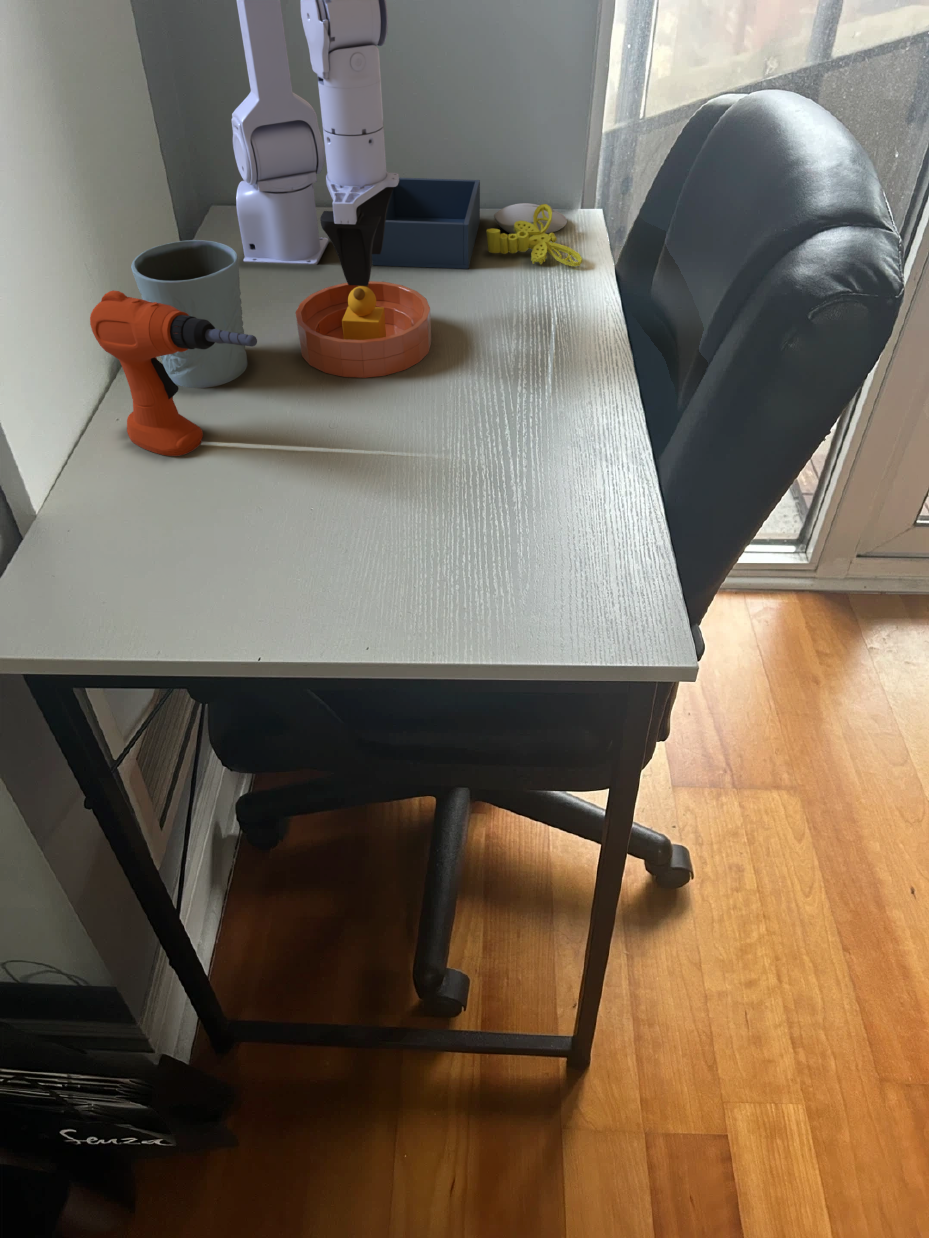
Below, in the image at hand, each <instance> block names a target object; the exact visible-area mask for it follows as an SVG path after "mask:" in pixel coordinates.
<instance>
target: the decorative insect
mask: <svg viewBox="0 0 929 1238" xmlns="http://www.w3.org/2000/svg"><path fill="white" fill-rule="evenodd" d="M539 205H540V206H538V207H537V208H536V210H535V212H534V215H533V224H531V223H529V222H527V221H516V222H515V224H514V231H516V234H513V233H512V234H511V233H509V234H507V233H505V232H502V233H501V230H500V229H498V228H493V227H491V228H487V229H486V243H487V252H489V253H491V254H499V253H500V254H503V255H506V254H508V253H510V254H517V253H518V252H521V253H525V252H527V251H528V250H529V249H530V250H531V253H530V256H531V257H530V261H531V262H532V264H534V265H535V263H539V264H540V265H542V264H544V263H545V262H546V259H547V255H548V254H549V255H550V256H551V257H553V258H554V259H555V260H556V262H559V263H561V264H563V265H565V266H569V267H579V266H581V265H582V263H583V257H582V256H581V254H580V253H579V252H578V251H576V250H574V249H573V248H572V247H570V246H567V245H564V244H560V243H557V241H558V238H557V236H556V234H555V232H551V233H545V232H546V230H547V229H548V228H549V226H550V223H551V221H552V210H551V208H552V207H551V205H548V204H547V203H541V204H539ZM550 207H551V208H550ZM544 210H545V211H547V212H548V216H549V218H547V217H546V216H545V214H544ZM541 211H542V216H543V218H537V216H538V214H539V213H540V212H541ZM539 220H540V221H542V220H543V221H544V220H545V221H548V222H547V224H546V226H545V227H544V226H543V224H542V222H540V221H539ZM537 222H538V224H540V225H541V230H539V228H538V226H537V224H536V223H537ZM547 253H548V254H547ZM562 253H565V254H567V256H566V258H563V255H562ZM575 260H576V261H575Z"/></svg>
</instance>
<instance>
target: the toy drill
mask: <svg viewBox="0 0 929 1238" xmlns="http://www.w3.org/2000/svg"><path fill="white" fill-rule="evenodd" d="M89 324H90V328H91V331H92V334H93V337H94V338H95V340H96V341H97V343H98V345H99V346H100V347H101V349H103V351H105V352H106V353H108V354H109V355H111V356H113V357H114V358H116V359H117V360H119V363H120V365H121V367H122V370H123V372H124V375H125V379H126V381H127V385H128V387H129V390H130V395H131V399H132V412H131V413H129V414H128V416H127V419H126V432H127V435H128V438H129V440H130V442H132V443H133V444H134V445H136V446H138V447H140V448H141V449H144V450H146V451H149V452H152V453H154V454H158V455H162V456H166V457H167V456H168V457H179V456H183V455H187V454H189V453H191V452H193V451H195V450H196V449H197V448H198V447H200V445H201V444H202V442H203V440H202V439H203V437H204V434H203V430H202V428H201V427H200V426H198V425H197V424H195V423H194V422H193V421H191V420H189V419H188V418H186V417H185V416H184V415H182V414H180V413H179V410H178V409H177V406H176V403H175V401H174V396H175V395H177V393H178V392H179V385H177V384H175V383H174V382H173V381H172V380H171V378H170V377H169V375H168V374H167V372H166V370H165V368H164V366H163V362H162V361H160V360H159V359H158V357H161V356H163V355H170V354H173V353H176V352H184V351H186V350H188V349H195V348H197V349H208V348H209V347H211V346H212V345H214V344H215V342H216V343H219V344H222V343H227V344H235V345H244V346H245V347H252V348H253V347H255V346H256V345H257V344H258V338H257V337H256V336H255V335H253V334H247V333H244V334H239V333H233V332H232V333H231V332H228V331H222V330H218V329H215V327H214V326H213V325H212V324H211V323H210V322H209V321H208V320H205V319H197V318H196V317H193V316H189V315H188V314H187V313H185V312H181V311H179V310H178V309H176V308H174V307H172V306H170V305H165V304H161V303H157V302H153V303H152V302H149V301H146V300H142V298H136V297H132V296H127V295H126V294H125V293H124V292H122V291H120V290H114V289H113V290H109V291H107V292H106V293H105V294H104V295H103V296H102V297H101V300H100V301H99V302H98V303H97V304H96V305H95V306H94V308H93V309H92V311H91V313H90V316H89Z"/></svg>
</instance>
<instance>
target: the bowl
mask: <svg viewBox="0 0 929 1238" xmlns="http://www.w3.org/2000/svg"><path fill="white" fill-rule="evenodd" d="M356 287H358V286H356V285H348V283H347V282H342V283H338V284H335V285H329V286H326V287H325V288H322V289H320V290H317V291H316V292H313V293H310V295H308V296H307V297H306V298H305V299H303V300H302V301H301V302H300V303H299V305H298V306H297V309H296V310H295V313H294V314H295V320H296V327H297V334H298V343H299V349H300V355H301V357H302V359H304V361H305V362H306V363H307V364H308V365H309V366H311V367H313V368H314V369H316V370H318V371H321V372H323V373H325V374H329V375H333V376H337V377H343V378H359V379H366V378H367V379H368V378H376V377H384V376H389V375H392V374H395V373H399V372H402V371H406V370H408V369H409V368H411V367H413V366H415V365H417V364H418V363H420V362H421V361H422V360H423V359H424V358H425V357H426V356H427V355H428V354H429V352H430V348H431V345H432V320H431V319H432V318H431V307H430V304H429V302H428V300H427V298H426V297H425V296H424V295H422V294H421V293H420V292H419V291H417V290H415V289H412V288H410V287H408V286H405V285H403V284H398V283H394V282H388V281H375V280H373V281H372V280H369V287H368V288H369V289H371V290H372V291H373V293H374V294H375V297H376V307H382V308H384V312H385V326H386V337H383V338H376V339H367V340H347V339H344V335H343V326H342V319H343V317H344V315H345V312H346V310H347V308H348V306H349V305H348V296H349V294H350V292H351V291H352V290H353V289H354V288H356Z"/></svg>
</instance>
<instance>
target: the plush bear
mask: <svg viewBox="0 0 929 1238" xmlns="http://www.w3.org/2000/svg"><path fill="white" fill-rule="evenodd" d="M368 287H369V283H368V286H358V287H356V288H354V289H353V290H352V291H351V292H350V294H349V296H348V305H349V306H348V308H347V310H346V312H345V315H344V317H343V319H342V326H343V335H344V339H347V340H367V339H376V338H383V337H386V326H385V312H384V308H382V307H376V297H375V294H374V293H373V291H372V290H371V289H369V288H368Z"/></svg>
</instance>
